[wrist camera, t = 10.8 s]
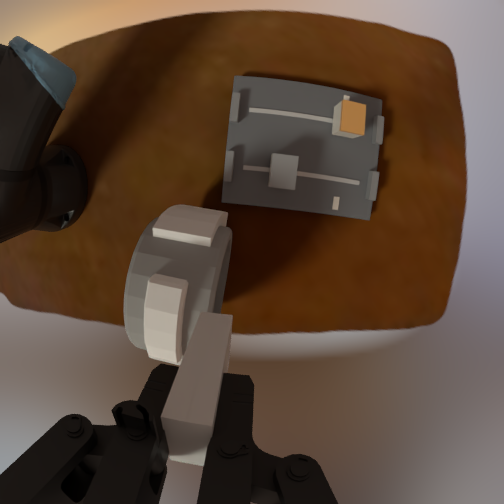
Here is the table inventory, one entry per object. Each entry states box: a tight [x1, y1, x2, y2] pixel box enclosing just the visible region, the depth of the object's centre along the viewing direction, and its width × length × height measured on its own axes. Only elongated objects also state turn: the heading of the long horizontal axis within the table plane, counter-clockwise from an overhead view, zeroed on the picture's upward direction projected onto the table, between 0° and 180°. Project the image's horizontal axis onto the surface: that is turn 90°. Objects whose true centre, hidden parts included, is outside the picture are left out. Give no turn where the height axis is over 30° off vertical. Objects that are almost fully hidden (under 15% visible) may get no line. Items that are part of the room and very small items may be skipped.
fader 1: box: [268, 153, 299, 190], centre depth 33 cm, size 3×4×4 cm
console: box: [221, 76, 384, 220], centre depth 35 cm, size 21×18×4 cm
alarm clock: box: [124, 204, 232, 365], centre depth 32 cm, size 18×8×20 cm, turn 170°
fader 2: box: [332, 100, 366, 138], centre depth 31 cm, size 3×4×4 cm
